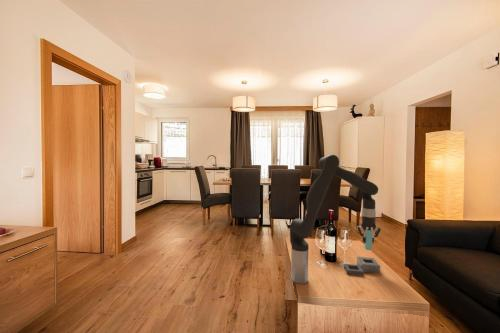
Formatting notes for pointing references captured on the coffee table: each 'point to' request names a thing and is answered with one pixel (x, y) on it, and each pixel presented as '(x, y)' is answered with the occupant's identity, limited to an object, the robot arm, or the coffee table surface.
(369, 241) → the plug
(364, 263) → the port block
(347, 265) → the dark grey shallow dish
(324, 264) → the coffee table surface
